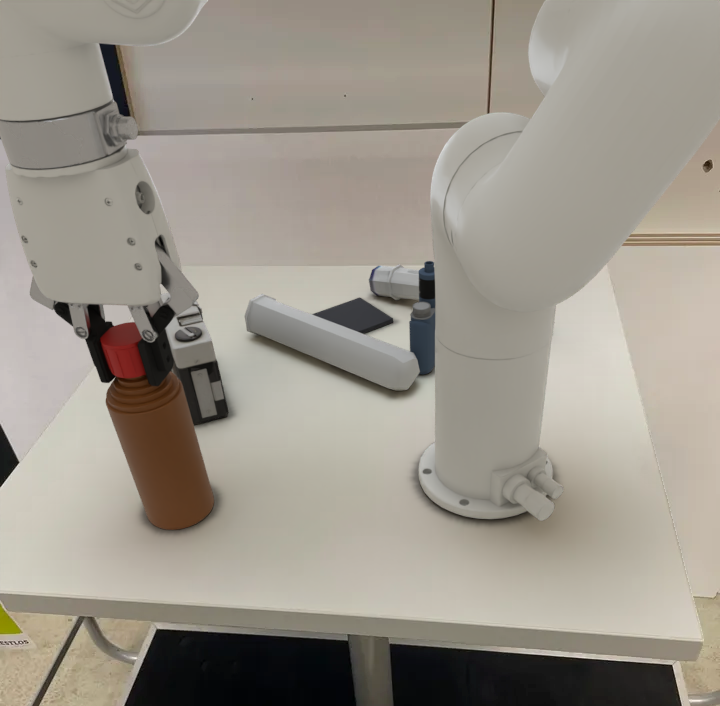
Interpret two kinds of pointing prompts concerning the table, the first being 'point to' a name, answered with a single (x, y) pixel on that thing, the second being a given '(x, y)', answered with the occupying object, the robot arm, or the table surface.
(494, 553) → the table surface
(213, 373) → the camera
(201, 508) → the bottle
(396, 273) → the white faceted cylinder
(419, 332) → the vaping device
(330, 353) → the tube
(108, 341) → the cap
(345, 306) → the mat
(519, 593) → the table surface
